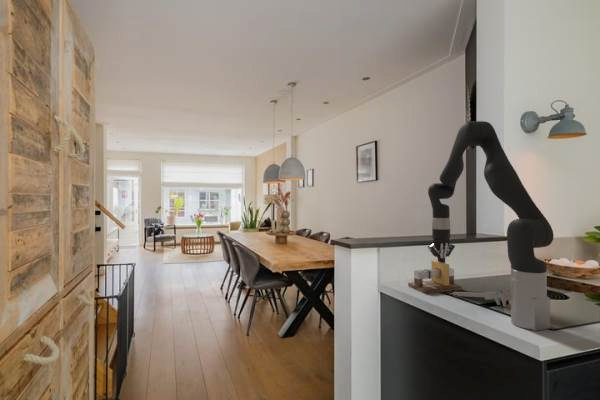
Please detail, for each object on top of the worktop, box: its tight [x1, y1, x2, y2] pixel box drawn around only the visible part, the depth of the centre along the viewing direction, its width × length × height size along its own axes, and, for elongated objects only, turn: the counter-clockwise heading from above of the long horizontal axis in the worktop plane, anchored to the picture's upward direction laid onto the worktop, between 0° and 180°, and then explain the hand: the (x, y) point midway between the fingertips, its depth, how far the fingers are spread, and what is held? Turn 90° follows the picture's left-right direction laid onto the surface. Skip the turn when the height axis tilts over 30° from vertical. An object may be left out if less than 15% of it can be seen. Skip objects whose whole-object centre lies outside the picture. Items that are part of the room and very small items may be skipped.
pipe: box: [413, 267, 455, 280], centre depth 145 cm, size 3×18×3 cm, turn 106°
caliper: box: [450, 289, 507, 308], centre depth 129 cm, size 20×1×6 cm, turn 38°
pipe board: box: [407, 275, 463, 295], centre depth 146 cm, size 12×18×5 cm, turn 106°
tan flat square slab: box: [431, 260, 450, 286], centre depth 146 cm, size 9×2×9 cm, turn 16°
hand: (441, 266), depth 150 cm, fingers closed
